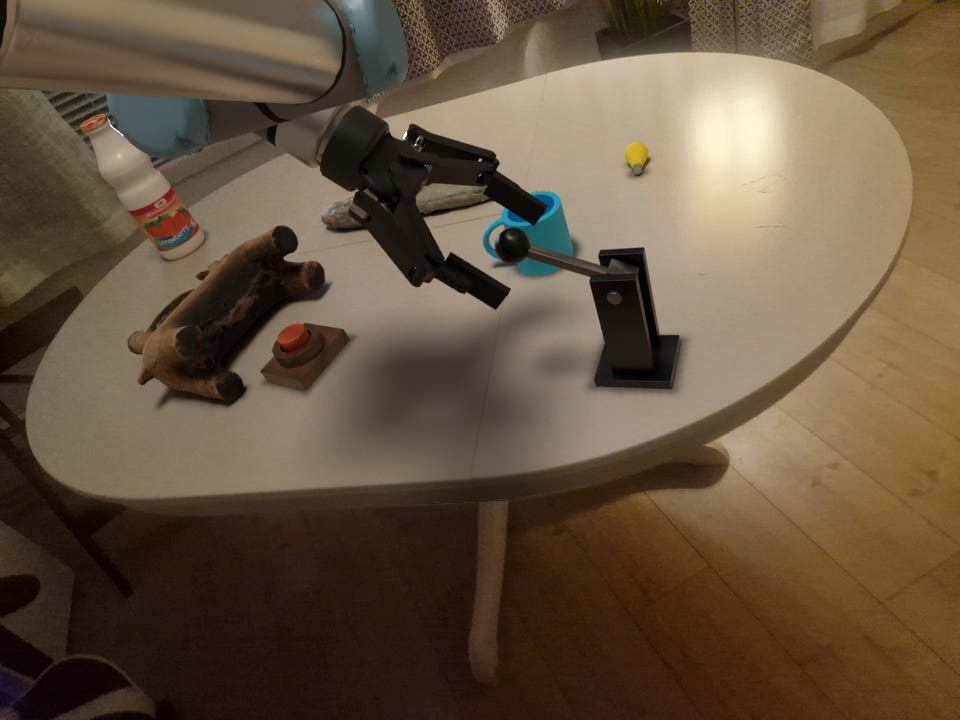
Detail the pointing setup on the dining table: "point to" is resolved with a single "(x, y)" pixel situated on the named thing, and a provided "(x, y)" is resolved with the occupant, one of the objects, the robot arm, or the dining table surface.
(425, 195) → the long grey stone
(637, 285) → the bracket
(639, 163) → the light bulb
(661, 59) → the dining table surface
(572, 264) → the lever
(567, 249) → the mug
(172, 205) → the fruit juice
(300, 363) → the button block
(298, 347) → the button
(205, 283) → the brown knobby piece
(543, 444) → the dining table surface
